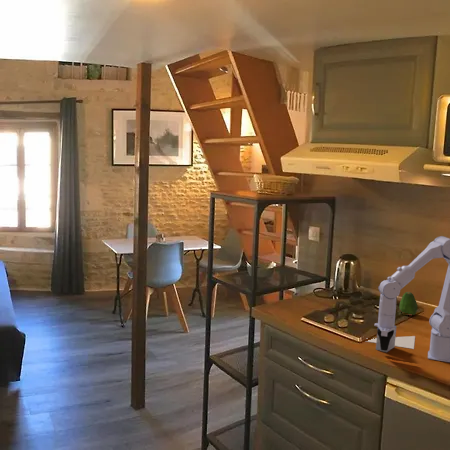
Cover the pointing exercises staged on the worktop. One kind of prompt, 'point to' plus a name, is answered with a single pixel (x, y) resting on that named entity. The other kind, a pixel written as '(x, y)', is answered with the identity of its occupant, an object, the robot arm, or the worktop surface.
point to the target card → (401, 341)
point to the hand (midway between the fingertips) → (384, 349)
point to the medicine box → (391, 343)
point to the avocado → (408, 303)
